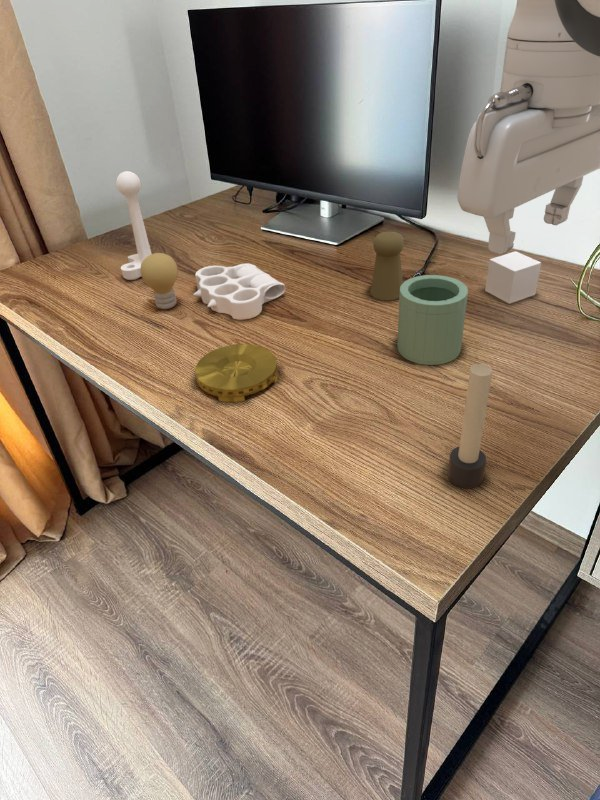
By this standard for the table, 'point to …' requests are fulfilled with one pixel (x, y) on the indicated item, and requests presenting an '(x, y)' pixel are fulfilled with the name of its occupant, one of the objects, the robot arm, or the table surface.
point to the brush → (472, 431)
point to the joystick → (134, 224)
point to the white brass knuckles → (237, 289)
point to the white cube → (512, 277)
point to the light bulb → (160, 278)
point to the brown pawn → (387, 266)
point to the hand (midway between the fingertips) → (528, 236)
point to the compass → (236, 371)
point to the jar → (431, 319)
